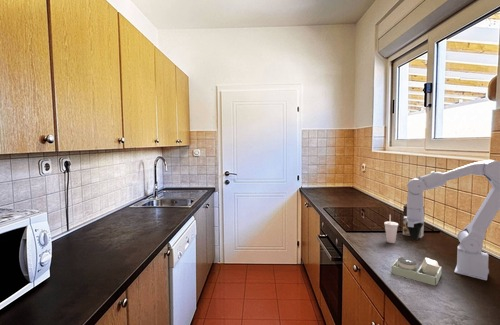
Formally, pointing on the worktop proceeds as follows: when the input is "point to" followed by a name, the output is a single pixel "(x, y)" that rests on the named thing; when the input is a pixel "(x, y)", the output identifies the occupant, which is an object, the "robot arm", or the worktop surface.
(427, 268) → the cube
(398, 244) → the worktop surface
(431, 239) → the worktop surface
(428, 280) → the caddy
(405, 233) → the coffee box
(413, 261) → the tin
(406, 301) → the worktop surface
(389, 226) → the smoothie
